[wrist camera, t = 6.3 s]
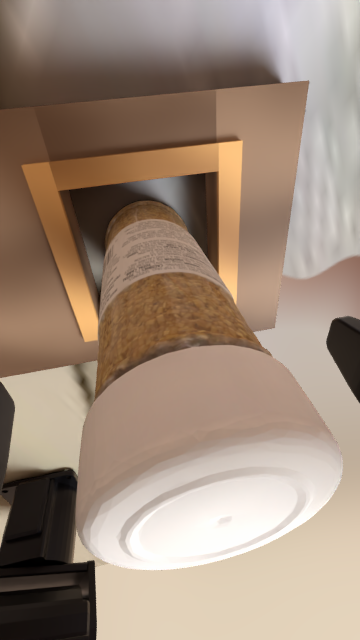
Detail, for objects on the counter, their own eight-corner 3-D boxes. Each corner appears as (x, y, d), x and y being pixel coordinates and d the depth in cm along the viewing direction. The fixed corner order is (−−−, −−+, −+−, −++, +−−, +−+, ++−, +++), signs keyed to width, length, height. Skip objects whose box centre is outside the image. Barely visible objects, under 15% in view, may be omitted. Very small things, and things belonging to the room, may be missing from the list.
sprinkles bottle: (166, 290, 17) (251, 572, 6) (92, 263, 16) (36, 590, 5) (203, 220, 15) (414, 459, 4) (122, 179, 14) (146, 417, 3)
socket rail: (261, 310, 20) (276, 330, 18) (-154, 383, 17) (-187, 415, 15) (284, 85, 13) (313, 79, 11) (-413, 151, 10) (-534, 158, 8)
